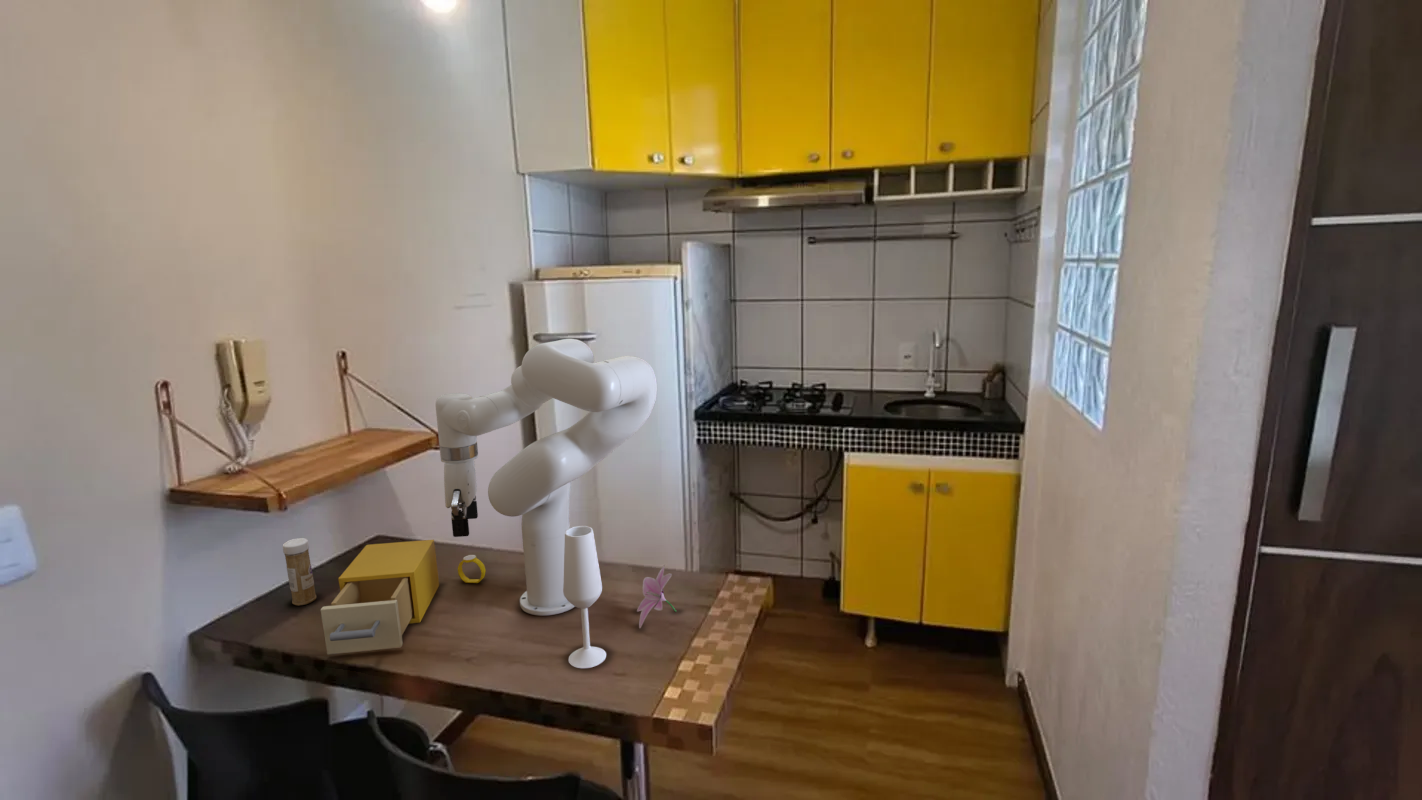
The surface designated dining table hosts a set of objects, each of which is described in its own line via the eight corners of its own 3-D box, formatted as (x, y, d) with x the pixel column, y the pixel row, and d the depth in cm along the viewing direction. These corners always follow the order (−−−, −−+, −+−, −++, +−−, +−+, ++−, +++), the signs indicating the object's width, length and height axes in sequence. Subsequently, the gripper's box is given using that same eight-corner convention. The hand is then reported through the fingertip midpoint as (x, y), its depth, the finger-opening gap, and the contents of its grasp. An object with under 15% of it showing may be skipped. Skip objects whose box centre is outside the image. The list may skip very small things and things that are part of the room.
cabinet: (420, 622, 133) (413, 572, 131) (345, 629, 131) (338, 578, 129) (439, 585, 148) (434, 539, 146) (373, 591, 147) (366, 544, 144)
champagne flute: (599, 669, 117) (590, 540, 112) (562, 666, 118) (552, 538, 113) (611, 648, 123) (604, 524, 118) (576, 645, 124) (567, 522, 119)
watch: (488, 580, 150) (486, 555, 149) (482, 585, 148) (479, 560, 146) (463, 578, 151) (461, 553, 150) (457, 584, 149) (454, 559, 148)
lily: (649, 600, 142) (626, 568, 138) (699, 584, 138) (676, 552, 135) (639, 646, 132) (613, 613, 128) (691, 631, 128) (667, 597, 124)
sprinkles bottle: (317, 602, 142) (308, 542, 139) (292, 608, 140) (282, 548, 137) (316, 593, 146) (307, 535, 143) (291, 599, 143) (281, 540, 141)
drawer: (393, 661, 119) (387, 615, 117) (316, 669, 117) (309, 622, 115) (422, 607, 137) (417, 567, 135) (356, 613, 135) (350, 572, 133)
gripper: (449, 441, 151) (456, 513, 155) (430, 464, 134) (438, 544, 138) (484, 439, 152) (490, 511, 156) (469, 462, 136) (476, 542, 139)
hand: (466, 526), depth 147 cm, fingers open, 9 cm apart
